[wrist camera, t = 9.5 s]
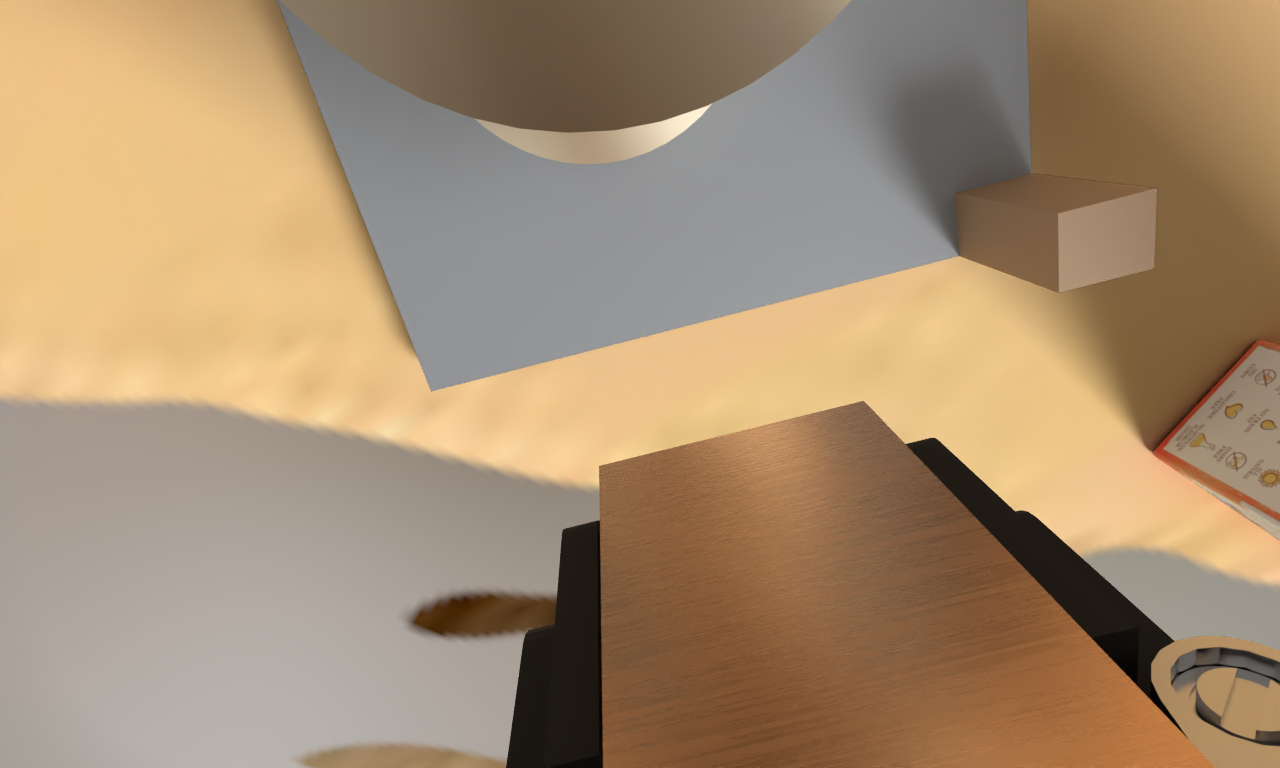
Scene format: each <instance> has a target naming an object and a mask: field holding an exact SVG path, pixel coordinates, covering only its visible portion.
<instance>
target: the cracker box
mask: <svg viewBox="0 0 1280 768" xmlns="http://www.w3.org/2000/svg"><path fill="white" fill-rule="evenodd" d="M1153 454H1154V456H1155V457H1157V458H1158V459H1160V460H1161V461H1163V462H1164V463H1166V464H1167V465H1169V466H1170V467H1172V468H1173V469H1175V470H1176V471H1178V472H1179V473H1181V474H1182V475H1184V476H1185V477H1187V478H1188V479H1189V480H1191V481H1192V482H1194V483H1195V484H1197V485H1198V486H1200V487H1201V488H1203V489H1204V490H1206V491H1207V492H1208V493H1210V494H1211V495H1213V496H1214V497H1216V498H1217V499H1219V500H1220V501H1222V502H1223V503H1225V504H1226V505H1227V506H1229V507H1230V508H1232V509H1233V510H1235V511H1236V512H1238V513H1239V514H1241V515H1242V516H1244V517H1245V518H1247V519H1248V520H1250V521H1251V522H1253V523H1254V524H1256V525H1257V526H1259V527H1260V528H1262V529H1263V530H1265V531H1266V532H1268V533H1269V534H1271V535H1272V536H1274V537H1275V538H1277V539H1278V540H1280V345H1279V344H1276V343H1272V342H1269V341H1265V340H1257V341H1256V342H1255V343H1254V344H1253V345H1252V346H1251V347H1250V348H1249V350H1248V351H1247V352H1246V353H1245V354H1244V355H1243V356H1242V357H1241V358H1240V359H1239V361H1238V362H1237V363H1236V364H1235V365H1234V366H1233V367H1232V368H1231V369H1230V370H1229V371H1228V372H1227V373H1226V375H1225V376H1224V377H1223V378H1222V379H1221V380H1220V381H1219V382H1218V383H1217V384H1216V385H1215V386H1214V387H1213V388H1212V389H1211V391H1210V392H1209V393H1208V394H1207V395H1206V396H1205V397H1204V398H1203V399H1202V400H1201V401H1200V402H1199V403H1198V404H1197V405H1196V406H1195V407H1194V408H1193V410H1192V411H1191V412H1190V413H1189V414H1188V415H1187V416H1186V417H1185V418H1184V419H1183V420H1182V421H1181V422H1180V423H1179V424H1178V425H1177V426H1176V428H1175V429H1174V430H1173V431H1172V432H1171V433H1170V434H1169V435H1168V436H1167V437H1166V438H1165V439H1164V440H1163V441H1162V443H1161V444H1160V445H1159V446H1158V447H1157V448H1156V449H1155V450H1154V452H1153Z"/></svg>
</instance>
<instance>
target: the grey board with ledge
mask: <svg viewBox="0 0 1280 768" xmlns="http://www.w3.org/2000/svg"><path fill="white" fill-rule="evenodd" d="M277 2H278V5H279V7H280V10H281V12H282V15H283V17H284V20H285V22H286V25H287V27H288V30H289V32H290V35H291V37H292V40H293V43H294V45H295V48H296V50H297V53H298V55H299V58H300V60H301V63H302V65H303V68H304V70H305V73H306V75H307V78H308V81H309V83H310V86H311V88H312V91H313V93H314V96H315V98H316V101H317V103H318V106H319V108H320V111H321V114H322V116H323V119H324V121H325V124H326V126H327V129H328V131H329V134H330V136H331V139H332V141H333V144H334V146H335V149H336V152H337V154H338V157H339V159H340V162H341V164H342V167H343V169H344V172H345V174H346V177H347V179H348V182H349V184H350V187H351V190H352V192H353V195H354V197H355V200H356V202H357V205H358V207H359V210H360V212H361V215H362V217H363V220H364V222H365V225H366V228H367V230H368V233H369V235H370V238H371V240H372V243H373V245H374V248H375V250H376V253H377V255H378V258H379V260H380V263H381V266H382V268H383V271H384V273H385V276H386V278H387V281H388V283H389V286H390V288H391V291H392V293H393V296H394V299H395V301H396V304H397V306H398V309H399V311H400V314H401V316H402V319H403V321H404V324H405V326H406V329H407V331H408V334H409V337H410V339H411V342H412V344H413V347H414V349H415V352H416V354H417V357H418V359H419V362H420V364H421V367H422V369H423V372H424V375H425V377H426V380H427V382H428V385H429V387H430V390H431V391H434V390H438V389H442V388H446V387H450V386H454V385H458V384H462V383H466V382H470V381H473V380H477V379H481V378H485V377H489V376H493V375H497V374H501V373H505V372H509V371H512V370H516V369H520V368H524V367H528V366H532V365H536V364H540V363H544V362H548V361H551V360H555V359H559V358H563V357H567V356H571V355H575V354H579V353H583V352H586V351H590V350H594V349H598V348H602V347H606V346H610V345H614V344H618V343H622V342H625V341H629V340H633V339H637V338H641V337H645V336H649V335H653V334H657V333H661V332H664V331H668V330H672V329H676V328H680V327H684V326H688V325H692V324H696V323H700V322H703V321H707V320H711V319H715V318H719V317H723V316H727V315H731V314H735V313H739V312H742V311H746V310H750V309H754V308H758V307H762V306H766V305H770V304H774V303H778V302H781V301H785V300H789V299H793V298H797V297H801V296H805V295H809V294H813V293H816V292H820V291H824V290H828V289H832V288H836V287H840V286H844V285H848V284H852V283H855V282H859V281H863V280H867V279H871V278H875V277H879V276H883V275H887V274H891V273H894V272H898V271H902V270H906V269H910V268H914V267H918V266H922V265H926V264H930V263H933V262H937V261H941V260H945V259H949V258H953V257H957V256H961V257H963V258H966V259H969V260H972V261H974V262H977V263H980V264H982V265H985V266H988V267H991V268H993V269H996V270H999V271H1002V272H1004V273H1007V274H1010V275H1012V276H1015V277H1018V278H1021V279H1023V280H1026V281H1029V282H1031V283H1034V284H1037V285H1040V286H1042V287H1045V288H1048V289H1050V290H1053V291H1056V292H1059V293H1060V292H1064V291H1068V290H1072V289H1076V288H1080V287H1084V286H1087V285H1091V284H1095V283H1099V282H1103V281H1107V280H1111V279H1115V278H1119V277H1123V276H1127V275H1131V274H1135V273H1139V272H1143V271H1147V270H1151V269H1154V258H1155V233H1156V207H1157V188H1152V187H1144V186H1135V185H1127V184H1118V183H1110V182H1101V181H1093V180H1084V179H1076V178H1067V177H1059V176H1050V175H1041V174H1033V173H1031V143H1030V108H1029V73H1028V38H1027V3H1026V0H851V1H850V2H849V3H848V4H847V5H846V6H845V7H844V9H843V10H842V11H841V12H840V13H839V14H838V15H837V16H836V18H835V19H834V20H833V21H832V22H830V23H829V24H828V25H827V26H826V27H825V28H824V29H823V30H821V31H820V32H819V33H818V34H817V35H816V36H815V37H813V38H812V39H811V40H810V41H809V42H808V43H807V44H806V45H804V46H803V47H802V48H801V49H800V50H799V51H798V52H796V53H795V54H794V55H793V56H791V57H790V58H788V59H787V60H786V61H784V62H783V63H781V64H780V65H778V66H777V67H775V68H774V69H772V70H771V71H769V72H768V73H766V74H765V75H763V76H762V77H761V78H759V79H758V80H756V81H755V82H753V83H752V84H750V85H748V86H746V87H744V88H742V89H740V90H738V91H736V92H734V93H732V94H730V95H728V96H726V97H724V98H722V99H720V100H718V101H716V102H714V103H712V105H711V106H710V107H709V108H708V109H707V110H706V111H705V113H704V114H703V115H702V116H701V117H700V118H699V119H697V120H696V121H695V122H694V123H693V124H692V125H691V126H690V127H688V128H687V129H686V130H685V131H684V132H682V133H681V134H679V135H678V136H676V137H675V138H673V139H672V140H670V141H669V142H667V143H666V144H664V145H662V146H660V147H658V148H656V149H654V150H652V151H650V152H648V153H645V154H642V155H639V156H636V157H633V158H630V159H627V160H621V161H616V162H611V163H603V164H575V163H564V162H559V161H555V160H550V159H546V158H542V157H539V156H537V155H534V154H531V153H528V152H526V151H523V150H521V149H519V148H517V147H515V146H513V145H511V144H509V143H508V142H506V141H504V140H502V139H501V138H499V137H498V136H496V135H495V134H493V133H492V132H490V131H489V130H488V129H486V128H485V127H483V126H482V125H481V124H480V123H479V122H478V121H477V120H475V119H474V118H471V117H468V116H465V115H462V114H460V113H457V112H454V111H452V110H449V109H446V108H444V107H441V106H438V105H435V104H433V103H430V102H427V101H425V100H422V99H420V98H418V97H416V96H414V95H412V94H411V93H409V92H407V91H405V90H403V89H401V88H399V87H397V86H395V85H393V84H391V83H389V82H388V81H386V80H384V79H382V78H380V77H378V76H376V75H374V74H373V73H371V72H370V71H368V70H367V69H365V68H364V67H363V66H361V65H360V64H358V63H357V62H355V61H354V60H352V59H351V58H349V57H348V56H346V55H345V54H344V53H342V52H341V51H339V50H338V49H336V48H335V47H333V46H332V45H330V44H329V43H328V42H326V41H325V40H324V39H323V38H322V37H321V36H319V35H318V34H317V33H316V32H315V31H314V30H313V29H311V28H310V27H309V26H308V25H307V24H306V23H304V22H303V21H302V20H301V19H300V18H299V17H298V16H296V15H295V14H294V13H293V12H292V11H291V10H290V9H288V8H287V7H286V6H285V5H284V4H283V3H282V2H281V1H280V0H277Z"/></svg>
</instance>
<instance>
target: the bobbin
mask: <svg viewBox="0 0 1280 768" xmlns="http://www.w3.org/2000/svg"><path fill="white" fill-rule="evenodd" d="M280 1H281V2H282V3H283V4H284V5H285V6H286V7H287V8H288V9H290V10H291V11H292V12H293V13H294V14H295V15H296V16H298V17H299V18H300V19H301V20H302V21H303V22H304V23H306V24H307V25H308V26H309V27H310V28H311V29H313V30H314V31H315V32H316V33H317V34H318V35H319V36H321V37H322V38H323V39H324V40H325V41H326V42H328V43H329V44H330V45H332V46H333V47H335V48H336V49H338V50H339V51H341V52H342V53H344V54H345V55H346V56H348V57H349V58H351V59H352V60H354V61H355V62H357V63H358V64H360V65H361V66H363V67H364V68H365V69H367V70H368V71H370V72H371V73H373V74H374V75H376V76H378V77H380V78H382V79H384V80H386V81H388V82H389V83H391V84H393V85H395V86H397V87H399V88H401V89H403V90H405V91H407V92H409V93H411V94H412V95H414V96H416V97H418V98H420V99H422V100H425V101H427V102H430V103H433V104H435V105H438V106H441V107H444V108H446V109H449V110H452V111H454V112H457V113H460V114H462V115H465V116H468V117H471V118H474V119H475V120H477V121H478V122H479V123H480V124H481V125H482V126H483V127H485V128H486V129H488V130H489V131H490V132H492V133H493V134H495V135H496V136H498V137H499V138H501V139H502V140H504V141H506V142H508V143H509V144H511V145H513V146H515V147H517V148H519V149H521V150H523V151H526V152H528V153H531V154H534V155H537V156H539V157H542V158H546V159H550V160H555V161H559V162H564V163H575V164H603V163H611V162H616V161H621V160H627V159H630V158H633V157H636V156H639V155H642V154H645V153H648V152H650V151H652V150H654V149H656V148H658V147H660V146H662V145H664V144H666V143H667V142H669V141H670V140H672V139H673V138H675V137H676V136H678V135H679V134H681V133H682V132H684V131H685V130H686V129H687V128H688V127H690V126H691V125H692V124H693V123H694V122H695V121H696V120H697V119H699V118H700V117H701V116H702V115H703V114H704V113H705V111H706V110H707V109H708V108H709V107H710V106H711V105H712V103H714V102H716V101H718V100H720V99H722V98H724V97H726V96H728V95H730V94H732V93H734V92H736V91H738V90H740V89H742V88H744V87H746V86H748V85H750V84H752V83H753V82H755V81H756V80H758V79H759V78H761V77H762V76H763V75H765V74H766V73H768V72H769V71H771V70H772V69H774V68H775V67H777V66H778V65H780V64H781V63H783V62H784V61H786V60H787V59H788V58H790V57H791V56H793V55H794V54H795V53H796V52H798V51H799V50H800V49H801V48H802V47H803V46H804V45H806V44H807V43H808V42H809V41H810V40H811V39H812V38H813V37H815V36H816V35H817V34H818V33H819V32H820V31H821V30H823V29H824V28H825V27H826V26H827V25H828V24H829V23H830V22H832V21H833V20H834V19H835V18H836V16H837V15H838V14H839V13H840V12H841V11H842V10H843V9H844V7H845V6H846V5H847V4H848V3H849V2H850V1H851V0H280Z"/></svg>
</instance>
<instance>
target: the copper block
mask: <svg viewBox="0 0 1280 768" xmlns="http://www.w3.org/2000/svg"><path fill="white" fill-rule="evenodd" d="M599 482H600V560H601V638H602V717H603V768H1215V766H1214V765H1213V764H1212V763H1211V762H1210V761H1209V760H1208V759H1207V758H1206V757H1205V756H1204V755H1203V754H1202V753H1201V752H1200V751H1199V750H1198V749H1197V748H1196V747H1195V746H1194V745H1193V744H1192V743H1191V741H1190V740H1189V739H1188V738H1187V737H1186V736H1185V735H1184V734H1183V733H1182V732H1181V731H1180V730H1179V729H1178V728H1177V727H1176V726H1175V725H1174V724H1173V723H1172V722H1171V721H1170V720H1169V719H1168V718H1167V716H1166V715H1165V714H1164V713H1163V712H1162V711H1161V710H1160V709H1159V708H1158V707H1157V706H1156V705H1155V704H1154V703H1153V702H1152V701H1151V700H1150V699H1149V698H1148V697H1147V696H1146V695H1145V694H1144V693H1143V691H1142V690H1141V689H1140V688H1139V687H1138V686H1137V685H1136V684H1135V683H1134V682H1133V681H1132V680H1131V679H1130V678H1129V677H1128V676H1127V675H1126V674H1125V673H1124V672H1123V671H1122V670H1121V669H1120V668H1119V666H1118V665H1117V664H1116V663H1115V662H1114V661H1113V660H1112V659H1111V658H1110V657H1109V656H1108V655H1107V654H1106V653H1105V652H1104V651H1103V650H1102V649H1101V648H1100V647H1099V646H1098V645H1097V644H1096V642H1095V641H1094V640H1093V639H1092V638H1091V637H1090V636H1089V635H1088V634H1087V633H1086V632H1085V631H1084V630H1083V629H1082V628H1081V627H1080V626H1079V625H1078V624H1077V623H1076V622H1075V621H1074V620H1073V619H1072V617H1071V616H1070V615H1069V614H1068V613H1067V612H1066V611H1065V610H1064V609H1063V608H1062V607H1061V606H1060V605H1059V604H1058V603H1057V602H1056V601H1055V600H1054V599H1053V598H1052V597H1051V596H1050V595H1049V594H1048V592H1047V591H1046V590H1045V589H1044V588H1043V587H1042V586H1041V585H1040V584H1039V583H1038V582H1037V581H1036V580H1035V579H1034V578H1033V577H1032V576H1031V575H1030V574H1029V573H1028V572H1027V571H1026V570H1025V569H1024V567H1023V566H1022V565H1021V564H1020V563H1019V562H1018V561H1017V560H1016V559H1015V558H1014V557H1013V556H1012V555H1011V554H1010V553H1009V552H1008V551H1007V550H1006V549H1005V548H1004V547H1003V546H1002V545H1001V544H1000V542H999V541H998V540H997V539H996V538H995V537H994V536H993V535H992V534H991V533H990V532H989V531H988V530H987V529H986V528H985V527H984V526H983V525H982V524H981V523H980V522H979V521H978V520H977V518H976V517H975V516H974V515H973V514H972V513H971V512H970V511H969V510H968V509H967V508H966V507H965V506H964V505H963V504H962V503H961V502H960V501H959V500H958V499H957V498H956V497H955V496H954V495H953V493H952V492H951V491H950V490H949V489H948V488H947V487H946V486H945V485H944V484H943V483H942V482H941V481H940V480H939V479H938V478H937V477H936V476H935V475H934V474H933V473H932V472H931V471H930V470H929V468H928V467H927V466H926V465H925V464H924V463H923V462H922V461H921V460H920V459H919V458H918V457H917V456H916V455H915V454H914V453H913V452H912V451H911V450H910V449H909V448H908V447H907V446H906V445H905V443H904V442H903V441H902V440H901V439H900V438H899V437H898V436H897V435H896V434H895V433H894V432H893V431H892V430H891V429H890V428H889V427H888V426H887V425H886V424H885V423H884V422H883V421H882V419H881V418H880V417H879V416H878V415H877V414H876V413H875V412H874V411H873V410H872V409H871V408H870V407H869V406H868V405H867V404H866V403H865V402H864V401H862V402H858V403H854V404H850V405H846V406H841V407H837V408H833V409H829V410H825V411H821V412H817V413H813V414H809V415H805V416H801V417H797V418H793V419H789V420H785V421H780V422H776V423H772V424H768V425H764V426H760V427H756V428H752V429H748V430H744V431H740V432H736V433H732V434H728V435H724V436H719V437H715V438H711V439H707V440H703V441H699V442H695V443H691V444H687V445H683V446H679V447H675V448H671V449H667V450H663V451H659V452H654V453H650V454H646V455H642V456H638V457H634V458H630V459H626V460H622V461H618V462H614V463H610V464H606V465H602V466H599Z"/></svg>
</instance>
